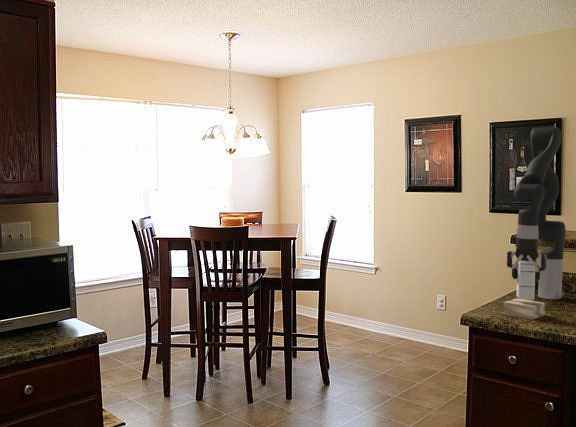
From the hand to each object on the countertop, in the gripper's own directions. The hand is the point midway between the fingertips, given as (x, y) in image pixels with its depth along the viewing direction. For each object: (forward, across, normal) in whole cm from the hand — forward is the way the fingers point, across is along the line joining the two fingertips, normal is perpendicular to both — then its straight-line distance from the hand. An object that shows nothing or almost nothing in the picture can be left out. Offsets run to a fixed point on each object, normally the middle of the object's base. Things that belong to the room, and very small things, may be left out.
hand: (525, 280), depth 221 cm
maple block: (+14, 0, 0) cm, 14 cm away
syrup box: (+7, 0, 0) cm, 7 cm away
